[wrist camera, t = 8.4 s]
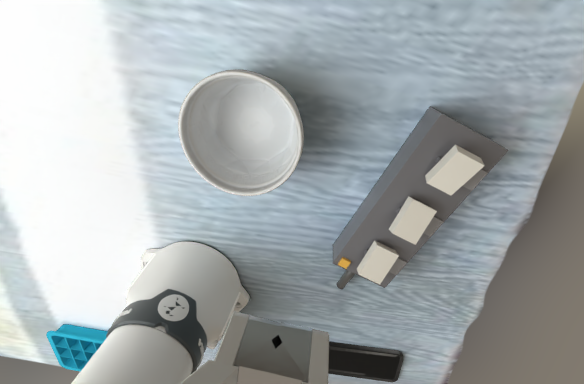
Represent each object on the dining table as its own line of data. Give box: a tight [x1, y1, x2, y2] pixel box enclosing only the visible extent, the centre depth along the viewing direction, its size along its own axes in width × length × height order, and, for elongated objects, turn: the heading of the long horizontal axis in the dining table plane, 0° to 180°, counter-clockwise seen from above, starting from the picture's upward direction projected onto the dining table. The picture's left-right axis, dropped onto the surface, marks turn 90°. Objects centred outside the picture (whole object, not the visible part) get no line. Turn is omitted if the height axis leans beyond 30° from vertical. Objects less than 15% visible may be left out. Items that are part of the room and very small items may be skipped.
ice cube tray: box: [46, 324, 108, 371], centre depth 61 cm, size 12×20×3 cm, turn 86°
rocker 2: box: [389, 196, 437, 245], centre depth 33 cm, size 4×3×1 cm
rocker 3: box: [425, 145, 485, 195], centre depth 30 cm, size 4×3×1 cm
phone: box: [328, 342, 403, 382], centre depth 53 cm, size 8×1×15 cm
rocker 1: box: [357, 240, 399, 284], centre depth 36 cm, size 4×3×1 cm
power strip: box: [333, 107, 508, 289], centre depth 37 cm, size 27×8×5 cm, turn 154°
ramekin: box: [178, 70, 304, 196], centre depth 33 cm, size 13×13×7 cm
